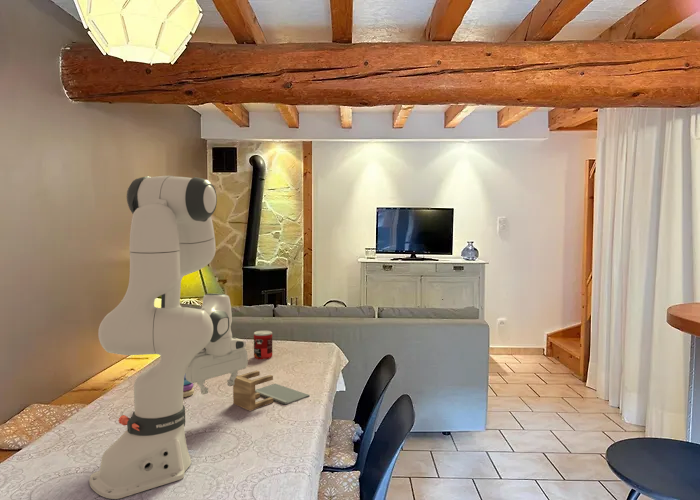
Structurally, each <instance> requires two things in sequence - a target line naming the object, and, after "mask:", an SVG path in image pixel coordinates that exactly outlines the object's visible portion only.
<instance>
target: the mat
mask: <svg viewBox="0 0 700 500" xmlns="http://www.w3.org/2000/svg"><path fill="white" fill-rule="evenodd" d="M257 392H258V393H260V397H262V398H265V399H267V398H270V397H271V398H273V402H275V403H278V404H281V405H284V406H287V405H289V404H292V403H294V402H295V403H296V402H298V401H300V400H303V399H306V398H309V397H310V396H311V395H310V394H307V393H304V392H302V391H298V390H295V389H293V388H290V387H287V386H284V385H281V384H278V383H273V384H269V385H266V386H263V387H260V388H255V393H257Z"/></svg>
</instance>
